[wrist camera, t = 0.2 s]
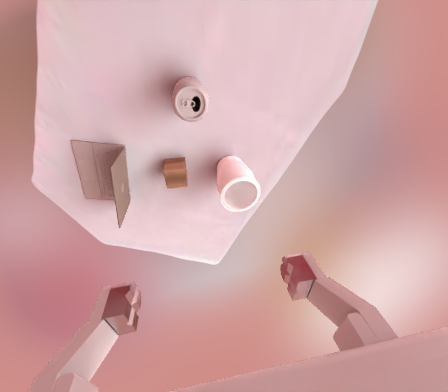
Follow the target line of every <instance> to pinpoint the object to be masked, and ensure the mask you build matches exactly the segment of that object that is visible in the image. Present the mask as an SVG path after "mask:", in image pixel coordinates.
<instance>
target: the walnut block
mask: <svg viewBox="0 0 448 392" xmlns="http://www.w3.org/2000/svg"><path fill="white" fill-rule="evenodd" d="M163 172H164V176H165V181H166V185H167V188H177V187H187V170H186V163H185V157H184V158H172V159H165V163H164V169H163Z"/></svg>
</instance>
